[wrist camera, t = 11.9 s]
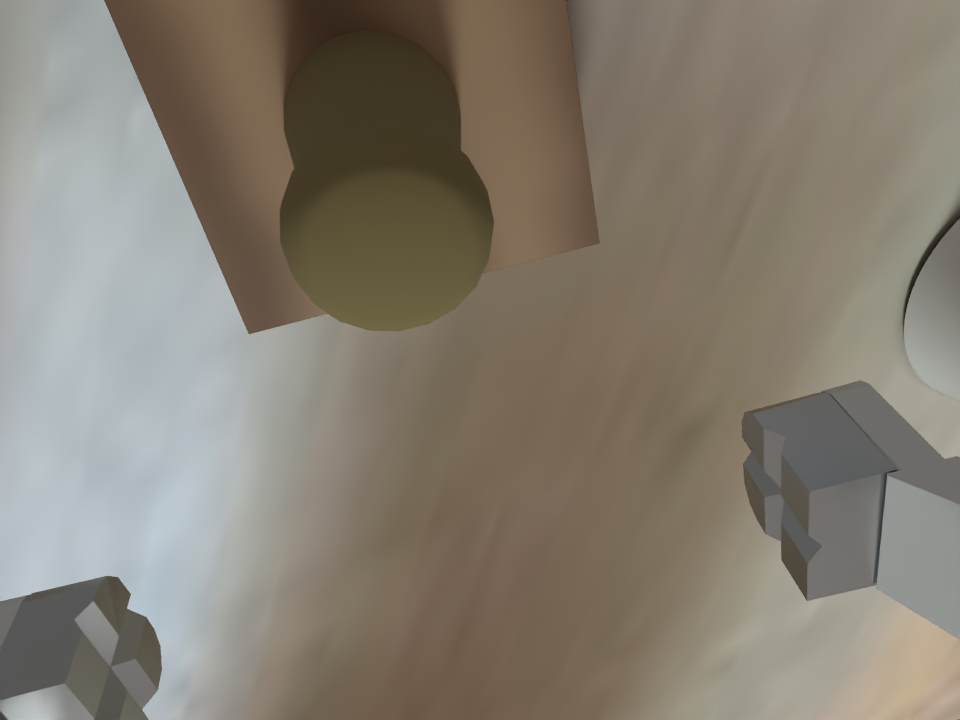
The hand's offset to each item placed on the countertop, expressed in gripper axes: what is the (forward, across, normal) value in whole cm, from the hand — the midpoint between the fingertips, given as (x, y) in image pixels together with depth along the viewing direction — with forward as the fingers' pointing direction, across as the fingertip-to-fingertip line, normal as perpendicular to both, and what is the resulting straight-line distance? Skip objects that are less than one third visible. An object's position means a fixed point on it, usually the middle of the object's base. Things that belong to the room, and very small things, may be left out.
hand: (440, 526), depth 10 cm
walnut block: (+26, 0, 0) cm, 26 cm away
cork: (+20, 0, 0) cm, 21 cm away
